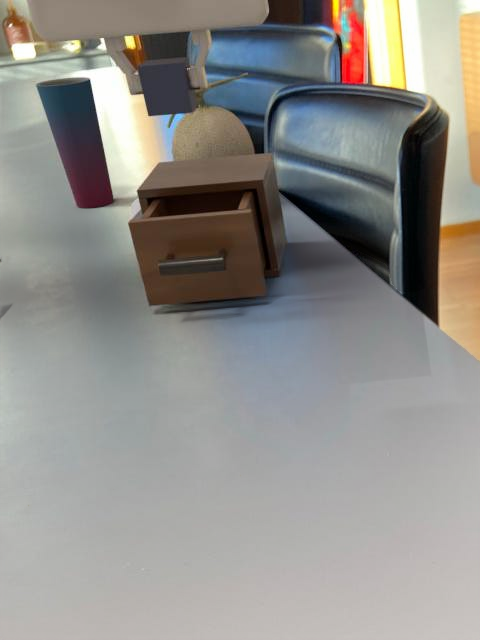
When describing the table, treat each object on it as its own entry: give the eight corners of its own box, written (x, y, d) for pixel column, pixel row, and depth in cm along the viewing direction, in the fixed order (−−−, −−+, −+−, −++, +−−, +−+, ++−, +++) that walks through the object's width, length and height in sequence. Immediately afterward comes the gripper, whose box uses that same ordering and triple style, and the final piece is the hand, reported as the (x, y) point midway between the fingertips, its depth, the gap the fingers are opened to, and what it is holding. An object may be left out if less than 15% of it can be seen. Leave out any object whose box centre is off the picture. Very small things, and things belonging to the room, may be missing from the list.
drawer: (262, 309, 96) (246, 223, 92) (141, 320, 96) (119, 234, 91) (274, 259, 110) (261, 182, 105) (168, 269, 109) (150, 191, 105)
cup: (75, 199, 143) (42, 79, 135) (124, 195, 144) (94, 75, 135) (65, 211, 138) (29, 87, 129) (116, 207, 138) (84, 82, 130)
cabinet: (279, 276, 108) (262, 179, 102) (160, 287, 107) (136, 190, 101) (287, 242, 119) (272, 152, 113) (178, 251, 118) (158, 162, 112)
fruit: (162, 207, 136) (133, 82, 128) (231, 189, 143) (208, 68, 134) (209, 217, 131) (181, 86, 122) (278, 197, 137) (257, 71, 128)
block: (148, 116, 92) (136, 66, 90) (155, 109, 95) (144, 60, 93) (192, 112, 92) (182, 62, 90) (198, 105, 95) (188, 56, 93)
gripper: (257, -105, 88) (285, 77, 96) (17, -87, 87) (66, 95, 95) (250, -105, 82) (280, 87, 91) (-5, -86, 82) (49, 106, 90)
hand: (169, 91), depth 93 cm, fingers closed on block, 4 cm apart
